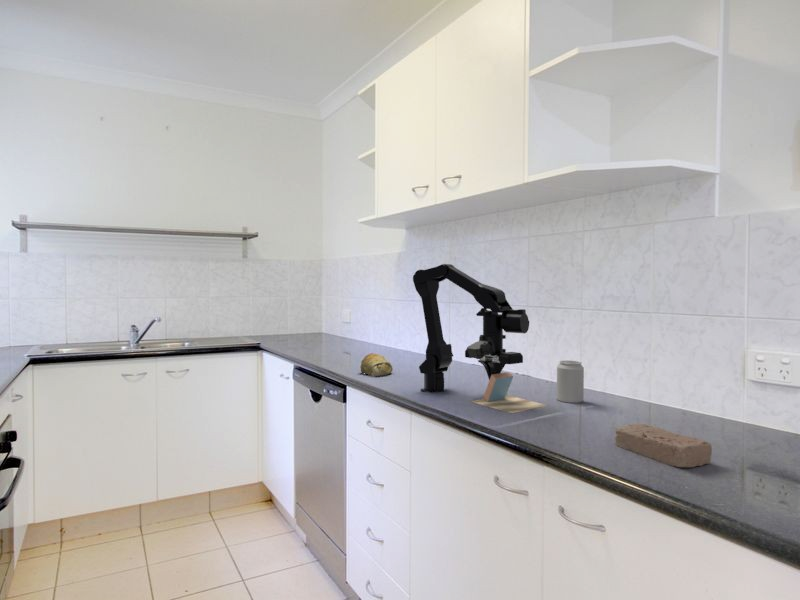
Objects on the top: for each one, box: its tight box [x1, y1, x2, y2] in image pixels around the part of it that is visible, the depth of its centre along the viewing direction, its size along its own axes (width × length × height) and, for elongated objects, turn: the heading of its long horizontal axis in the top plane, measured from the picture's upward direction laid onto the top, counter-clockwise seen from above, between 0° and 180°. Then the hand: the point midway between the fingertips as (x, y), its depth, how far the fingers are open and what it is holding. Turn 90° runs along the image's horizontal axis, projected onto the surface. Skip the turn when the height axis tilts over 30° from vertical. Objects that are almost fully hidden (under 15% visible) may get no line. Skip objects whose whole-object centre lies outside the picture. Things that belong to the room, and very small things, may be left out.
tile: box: [482, 371, 514, 402], centre depth 146 cm, size 2×7×8 cm, turn 124°
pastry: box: [360, 352, 393, 377], centre depth 194 cm, size 14×12×8 cm
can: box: [556, 360, 585, 404], centre depth 146 cm, size 8×8×12 cm
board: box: [470, 394, 550, 414], centre depth 142 cm, size 16×15×1 cm
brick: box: [614, 422, 713, 468], centre depth 102 cm, size 17×8×5 cm, turn 24°
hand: (492, 384), depth 148 cm, fingers closed
